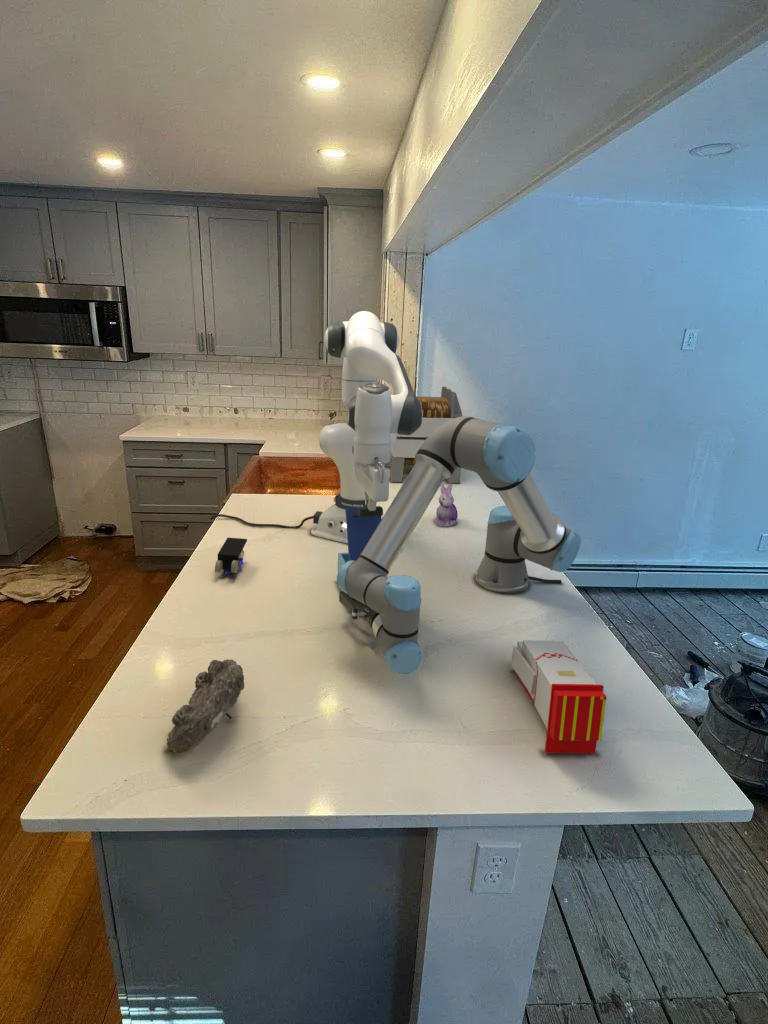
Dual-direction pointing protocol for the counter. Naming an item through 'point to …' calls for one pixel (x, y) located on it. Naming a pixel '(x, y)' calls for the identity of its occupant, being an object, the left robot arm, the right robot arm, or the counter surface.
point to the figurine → (446, 508)
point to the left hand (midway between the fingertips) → (370, 508)
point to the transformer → (424, 433)
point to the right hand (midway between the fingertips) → (364, 580)
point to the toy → (561, 695)
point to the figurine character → (230, 556)
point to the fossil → (206, 705)
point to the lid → (360, 528)
